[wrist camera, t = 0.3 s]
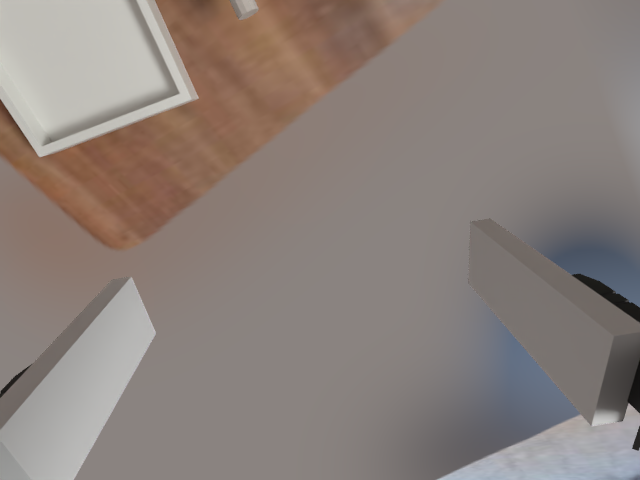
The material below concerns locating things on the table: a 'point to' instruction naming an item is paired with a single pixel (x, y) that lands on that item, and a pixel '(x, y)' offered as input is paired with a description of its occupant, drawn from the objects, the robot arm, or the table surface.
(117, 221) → the table surface
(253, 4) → the pipe connector
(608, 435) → the table surface
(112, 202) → the table surface
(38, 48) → the tray
